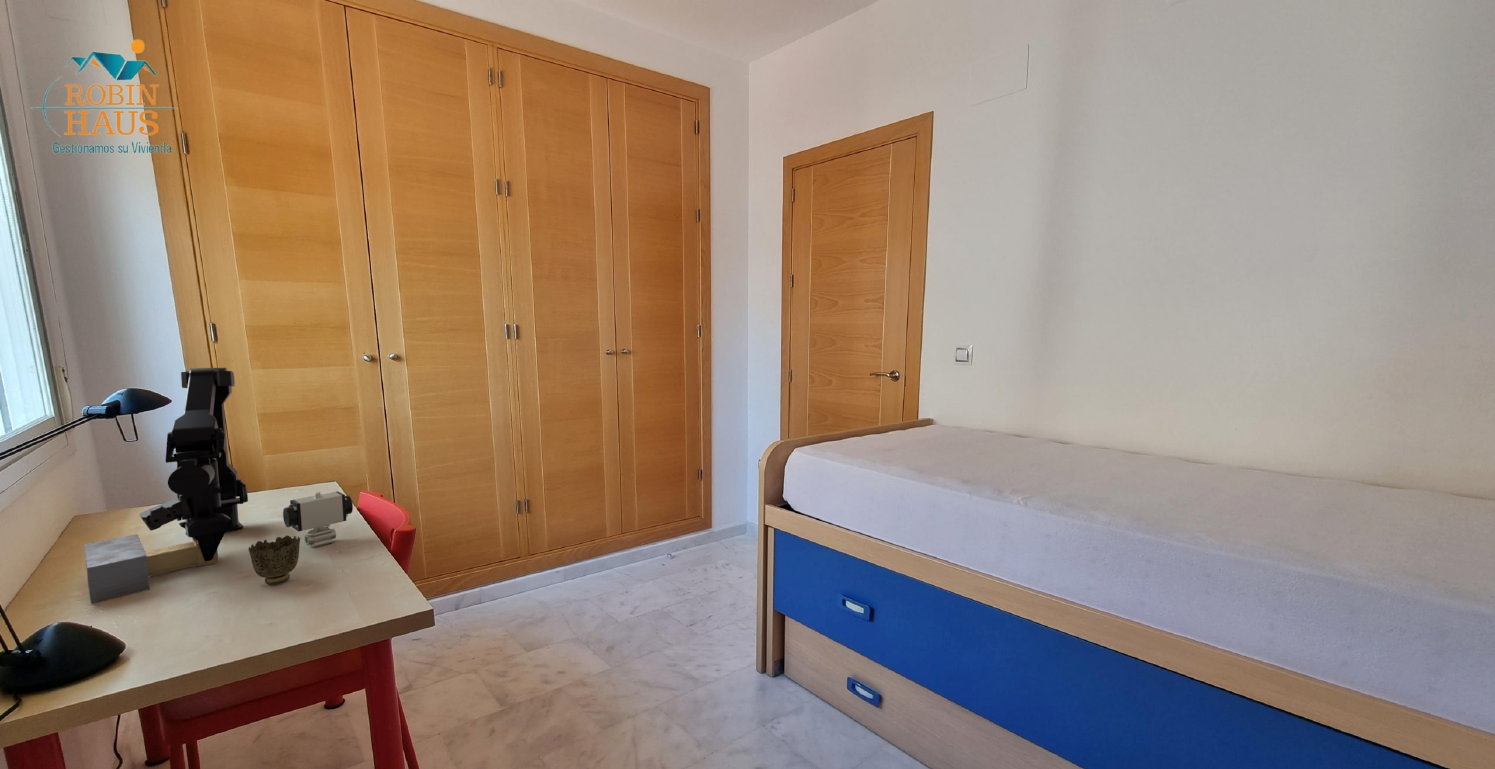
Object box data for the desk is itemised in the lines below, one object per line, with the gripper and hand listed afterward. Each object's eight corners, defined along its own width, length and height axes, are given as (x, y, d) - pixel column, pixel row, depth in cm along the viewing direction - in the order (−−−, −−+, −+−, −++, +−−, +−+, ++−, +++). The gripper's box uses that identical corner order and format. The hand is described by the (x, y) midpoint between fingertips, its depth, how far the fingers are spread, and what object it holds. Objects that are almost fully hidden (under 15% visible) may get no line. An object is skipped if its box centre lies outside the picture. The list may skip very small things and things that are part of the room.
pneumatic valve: (355, 538, 126) (352, 488, 125) (291, 554, 117) (287, 500, 116) (346, 533, 130) (343, 484, 129) (284, 548, 120) (280, 496, 119)
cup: (300, 570, 109) (298, 532, 108) (305, 582, 104) (302, 542, 103) (250, 582, 104) (247, 541, 103) (252, 595, 99) (249, 552, 98)
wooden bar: (214, 556, 116) (212, 534, 115) (218, 562, 113) (216, 539, 112) (105, 580, 104) (103, 556, 104) (107, 587, 101) (104, 563, 101)
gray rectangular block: (140, 564, 112) (137, 534, 111) (149, 589, 101) (146, 555, 100) (87, 576, 106) (83, 544, 106) (90, 603, 95) (87, 568, 95)
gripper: (136, 485, 111) (144, 558, 112) (146, 502, 100) (154, 583, 101) (212, 474, 120) (218, 542, 121) (229, 488, 108) (235, 564, 110)
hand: (206, 557), depth 113 cm, fingers closed on wooden bar, 5 cm apart
